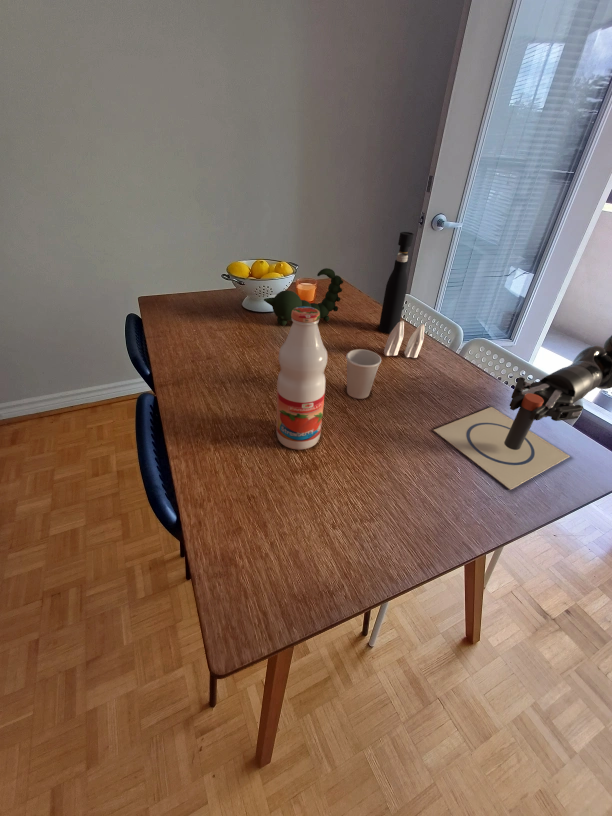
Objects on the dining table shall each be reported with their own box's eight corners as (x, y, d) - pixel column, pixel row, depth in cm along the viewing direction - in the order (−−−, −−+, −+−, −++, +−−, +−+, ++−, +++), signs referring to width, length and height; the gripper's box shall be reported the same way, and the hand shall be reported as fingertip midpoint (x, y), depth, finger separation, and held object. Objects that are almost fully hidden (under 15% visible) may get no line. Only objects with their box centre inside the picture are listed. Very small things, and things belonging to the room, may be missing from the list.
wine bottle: (399, 334, 129) (420, 236, 112) (380, 333, 129) (397, 235, 111) (396, 326, 134) (415, 231, 117) (377, 325, 134) (394, 230, 117)
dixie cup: (373, 404, 96) (380, 368, 90) (339, 398, 97) (344, 362, 91) (375, 386, 103) (382, 351, 97) (343, 381, 104) (348, 346, 98)
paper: (569, 456, 84) (570, 455, 84) (510, 490, 75) (510, 489, 75) (491, 407, 98) (491, 406, 98) (433, 430, 89) (433, 429, 89)
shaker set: (383, 361, 114) (390, 325, 107) (378, 354, 117) (385, 318, 111) (422, 358, 116) (431, 323, 110) (415, 351, 120) (424, 317, 113)
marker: (524, 447, 83) (547, 400, 76) (514, 452, 82) (536, 404, 75) (510, 438, 86) (531, 391, 79) (500, 442, 84) (521, 395, 77)
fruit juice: (315, 421, 89) (326, 300, 73) (324, 449, 82) (339, 321, 65) (273, 424, 87) (275, 301, 71) (279, 452, 80) (282, 323, 64)
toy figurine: (328, 319, 140) (258, 318, 132) (338, 265, 129) (263, 260, 121) (338, 331, 132) (264, 330, 124) (349, 274, 122) (270, 269, 114)
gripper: (540, 357, 88) (496, 377, 79) (609, 386, 78) (567, 414, 70) (527, 385, 92) (484, 408, 83) (591, 417, 83) (550, 446, 74)
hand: (522, 410), depth 77 cm, fingers closed on marker, 3 cm apart
